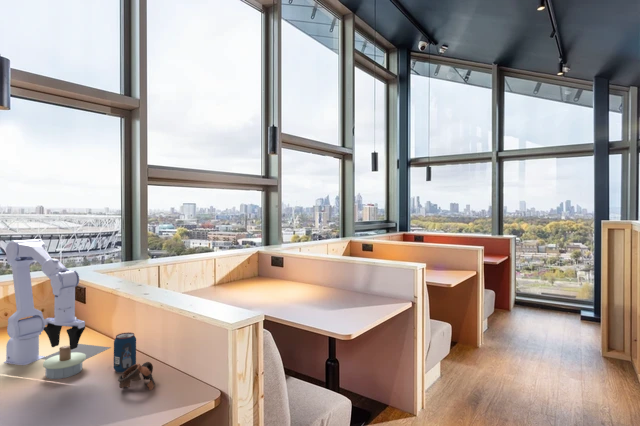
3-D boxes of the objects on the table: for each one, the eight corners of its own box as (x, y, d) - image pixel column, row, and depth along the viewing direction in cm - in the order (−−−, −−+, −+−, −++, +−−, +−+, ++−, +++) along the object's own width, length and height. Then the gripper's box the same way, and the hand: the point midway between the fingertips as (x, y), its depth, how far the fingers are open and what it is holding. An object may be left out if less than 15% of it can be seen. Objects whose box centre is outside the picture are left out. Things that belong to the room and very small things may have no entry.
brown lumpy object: (149, 397, 114) (133, 375, 112) (123, 407, 115) (108, 387, 114) (166, 370, 125) (152, 350, 124) (143, 380, 127) (129, 361, 125)
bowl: (38, 378, 124) (38, 366, 124) (65, 366, 134) (65, 354, 133) (63, 381, 122) (63, 369, 122) (88, 369, 131) (88, 357, 131)
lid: (33, 367, 123) (33, 352, 123) (64, 353, 135) (64, 340, 135) (65, 370, 121) (65, 355, 121) (94, 356, 133) (94, 342, 133)
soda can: (125, 364, 136) (125, 330, 136) (140, 367, 134) (140, 333, 134) (108, 371, 129) (109, 336, 129) (124, 375, 127) (124, 339, 127)
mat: (40, 360, 138) (40, 358, 138) (77, 344, 154) (77, 343, 154) (76, 364, 135) (77, 363, 135) (111, 348, 150) (111, 347, 150)
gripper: (92, 305, 130) (92, 345, 130) (57, 302, 133) (57, 341, 133) (74, 311, 123) (74, 352, 123) (38, 307, 126) (38, 348, 126)
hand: (64, 347), depth 127 cm, fingers open, 7 cm apart
